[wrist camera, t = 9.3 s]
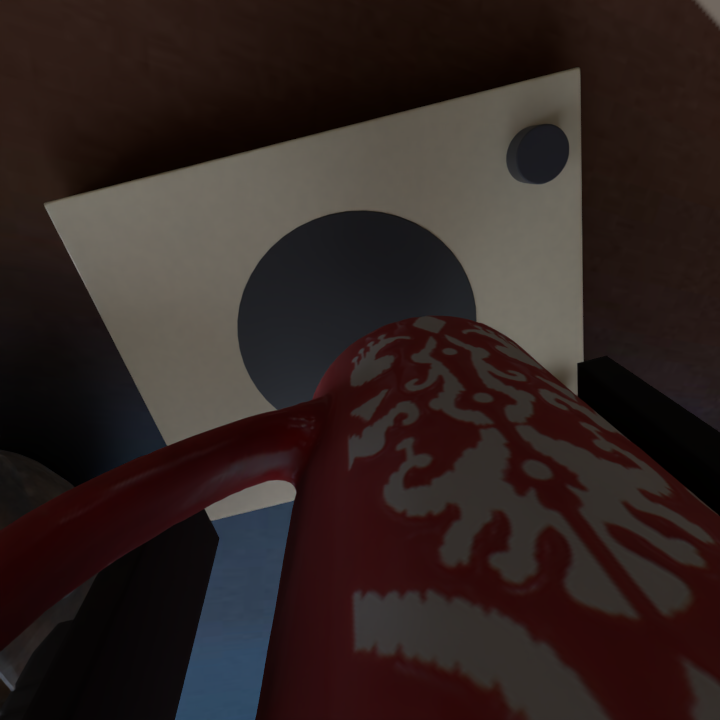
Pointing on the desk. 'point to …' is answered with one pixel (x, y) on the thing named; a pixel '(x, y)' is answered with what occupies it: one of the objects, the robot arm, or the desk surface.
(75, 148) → the desk surface
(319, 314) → the stove
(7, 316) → the desk surface
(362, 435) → the mug
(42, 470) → the bowl
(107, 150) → the desk surface
